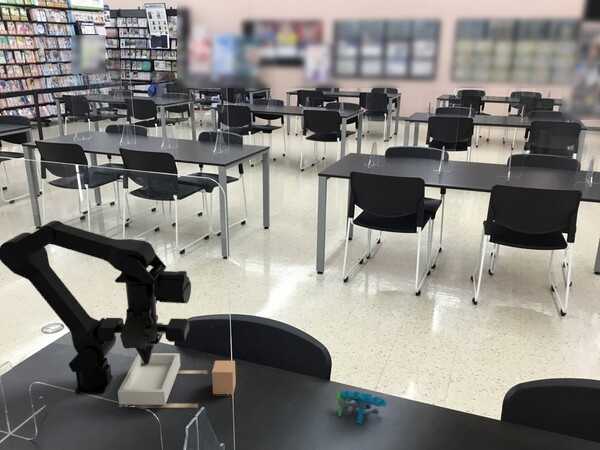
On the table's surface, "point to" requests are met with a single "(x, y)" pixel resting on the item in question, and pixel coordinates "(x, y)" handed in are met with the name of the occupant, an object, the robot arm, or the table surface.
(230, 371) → the part block
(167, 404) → the track
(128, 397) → the white open storage bin
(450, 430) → the table surface
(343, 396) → the toy construction assembly
